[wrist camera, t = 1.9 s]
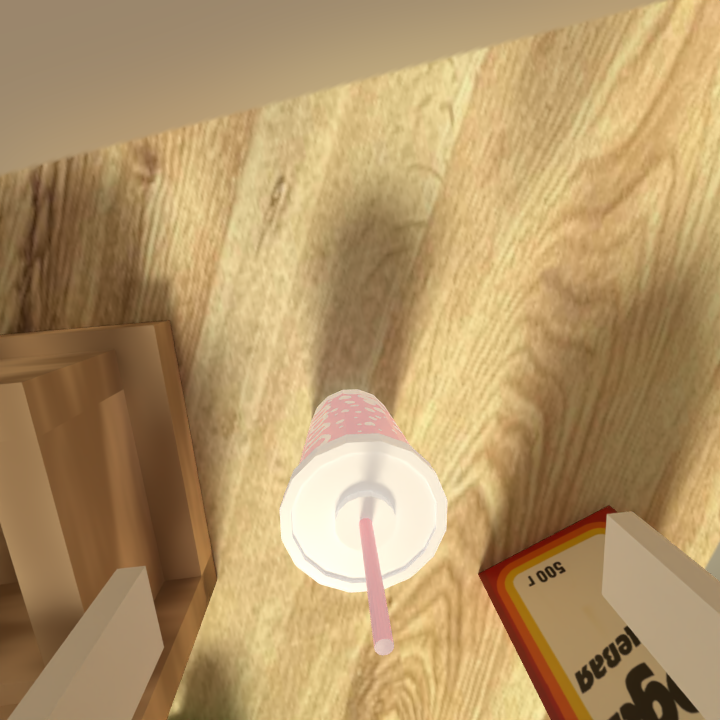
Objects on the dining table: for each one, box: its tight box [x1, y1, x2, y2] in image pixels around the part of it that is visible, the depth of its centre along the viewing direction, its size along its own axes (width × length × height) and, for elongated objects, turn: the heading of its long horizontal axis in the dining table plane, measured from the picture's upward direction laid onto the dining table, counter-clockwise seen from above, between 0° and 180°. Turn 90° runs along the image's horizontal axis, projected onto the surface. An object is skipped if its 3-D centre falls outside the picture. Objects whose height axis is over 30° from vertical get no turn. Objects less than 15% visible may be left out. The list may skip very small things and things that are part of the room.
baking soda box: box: [478, 506, 706, 720], centre depth 19 cm, size 10×6×16 cm
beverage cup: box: [280, 389, 447, 655], centre depth 16 cm, size 6×6×14 cm
